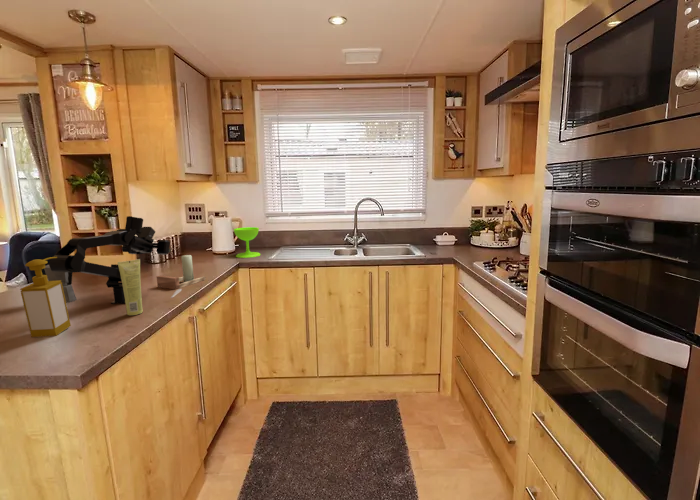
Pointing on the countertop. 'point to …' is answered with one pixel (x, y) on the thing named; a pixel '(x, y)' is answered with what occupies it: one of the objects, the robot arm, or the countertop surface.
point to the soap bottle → (44, 303)
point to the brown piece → (175, 282)
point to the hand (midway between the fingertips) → (161, 250)
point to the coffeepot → (66, 282)
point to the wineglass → (247, 240)
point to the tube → (131, 286)
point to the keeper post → (187, 268)
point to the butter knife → (176, 292)
